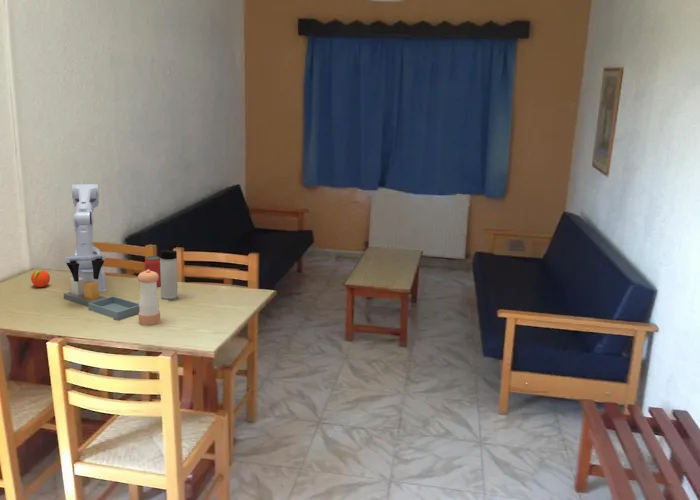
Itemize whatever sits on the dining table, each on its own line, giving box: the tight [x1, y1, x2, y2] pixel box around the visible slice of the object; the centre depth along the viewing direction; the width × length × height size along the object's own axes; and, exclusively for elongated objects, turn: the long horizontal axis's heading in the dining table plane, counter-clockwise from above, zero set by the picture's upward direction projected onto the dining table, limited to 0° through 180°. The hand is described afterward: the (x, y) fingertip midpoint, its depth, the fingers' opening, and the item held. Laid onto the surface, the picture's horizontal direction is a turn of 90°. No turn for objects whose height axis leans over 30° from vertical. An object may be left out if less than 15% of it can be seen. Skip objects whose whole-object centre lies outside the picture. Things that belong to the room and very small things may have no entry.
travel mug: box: [159, 249, 179, 301], centre depth 244 cm, size 6×7×20 cm
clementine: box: [30, 269, 51, 288], centre depth 252 cm, size 8×7×7 cm
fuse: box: [69, 277, 85, 296], centre depth 239 cm, size 3×4×8 cm
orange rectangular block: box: [84, 281, 100, 301], centre depth 235 cm, size 3×4×8 cm
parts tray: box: [87, 295, 140, 321], centre depth 229 cm, size 11×16×3 cm
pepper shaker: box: [137, 270, 161, 326], centre depth 219 cm, size 7×7×19 cm
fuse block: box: [63, 291, 107, 307], centre depth 238 cm, size 7×16×2 cm, turn 58°
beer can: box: [144, 255, 161, 287], centre depth 261 cm, size 7×7×12 cm
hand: (86, 280), depth 233 cm, fingers open, 7 cm apart
